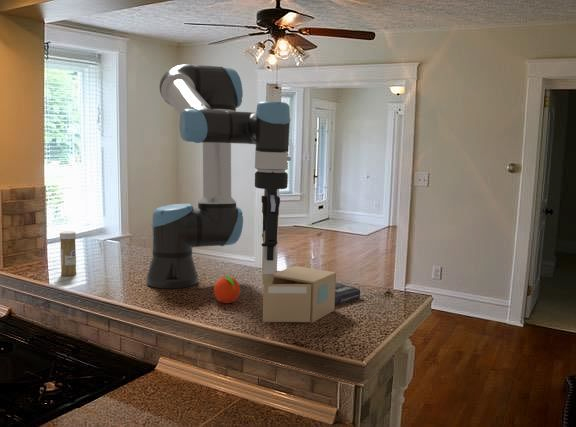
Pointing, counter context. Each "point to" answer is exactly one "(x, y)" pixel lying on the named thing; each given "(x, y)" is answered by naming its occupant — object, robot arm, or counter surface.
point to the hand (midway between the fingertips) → (268, 271)
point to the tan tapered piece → (285, 300)
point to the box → (345, 293)
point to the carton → (312, 287)
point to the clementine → (226, 289)
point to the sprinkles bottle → (68, 253)
